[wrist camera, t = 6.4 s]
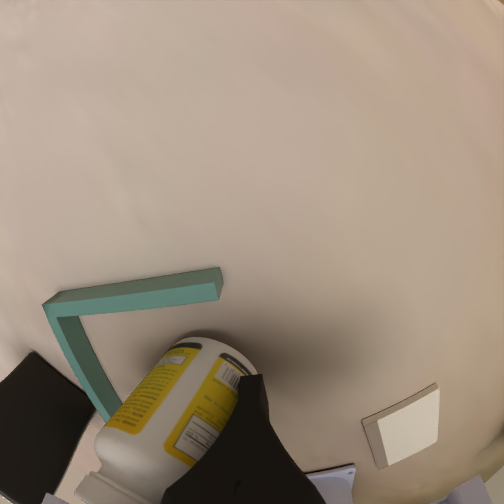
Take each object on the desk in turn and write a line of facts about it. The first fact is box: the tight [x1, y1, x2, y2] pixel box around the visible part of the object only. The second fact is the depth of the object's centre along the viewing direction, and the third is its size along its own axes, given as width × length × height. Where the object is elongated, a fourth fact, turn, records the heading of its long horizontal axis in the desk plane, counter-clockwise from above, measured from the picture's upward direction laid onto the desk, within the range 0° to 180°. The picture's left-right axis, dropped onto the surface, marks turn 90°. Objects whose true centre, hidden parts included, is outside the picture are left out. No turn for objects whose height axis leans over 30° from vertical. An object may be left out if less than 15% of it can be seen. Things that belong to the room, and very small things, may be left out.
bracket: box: [42, 267, 223, 423], centre depth 14 cm, size 13×10×2 cm
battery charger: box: [0, 352, 97, 504], centre depth 11 cm, size 7×4×11 cm, turn 52°
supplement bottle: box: [74, 337, 258, 504], centre depth 10 cm, size 5×5×10 cm
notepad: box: [362, 383, 439, 470], centre depth 16 cm, size 9×6×1 cm, turn 25°
